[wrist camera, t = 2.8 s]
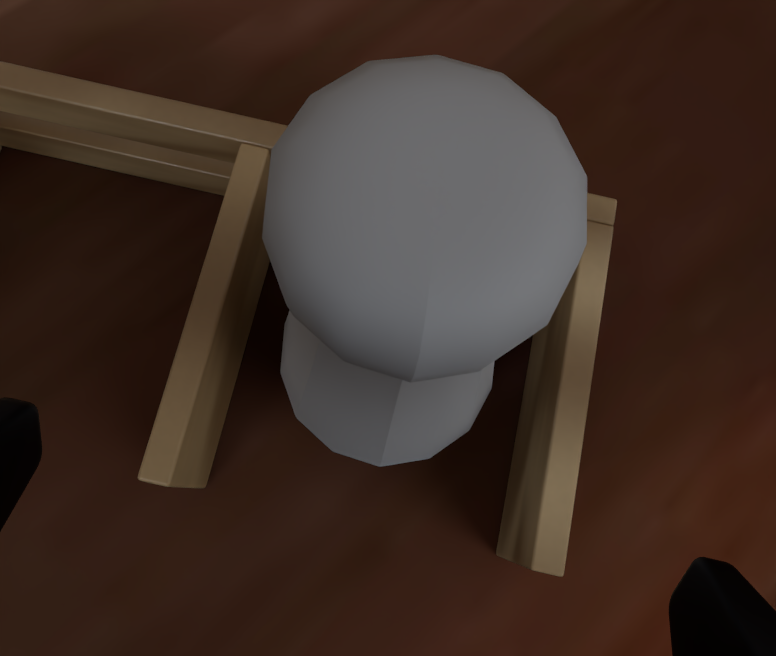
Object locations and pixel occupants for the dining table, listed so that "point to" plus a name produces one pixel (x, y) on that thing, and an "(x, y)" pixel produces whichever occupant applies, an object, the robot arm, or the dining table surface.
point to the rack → (246, 278)
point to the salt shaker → (415, 248)
